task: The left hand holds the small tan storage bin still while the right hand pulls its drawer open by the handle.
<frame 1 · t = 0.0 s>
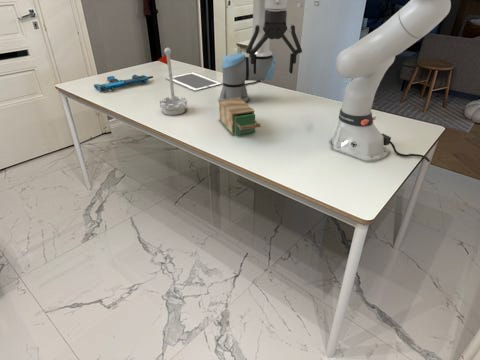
left hand: (272, 72, 127), 28 cm above the table, tool pointing down, fingers open, 13 cm apart
right hand: (308, 6, 134), 48 cm above the table, tool pointing down, fingers open, 8 cm apart
tablet: (193, 81, 211), on the table
tan storage bin: (236, 125, 155), on the table
drawer: (241, 120, 147), point 5 cm above the table, slide at 1.2 cm
submachine gun: (123, 83, 207), on the table
flag stand: (174, 111, 170), on the table
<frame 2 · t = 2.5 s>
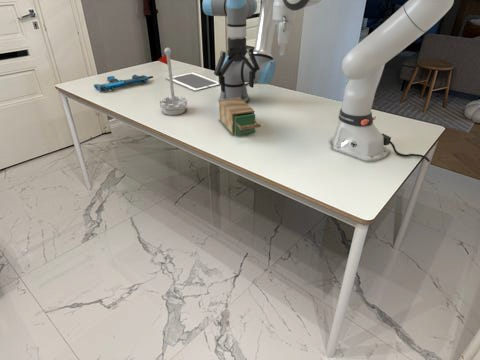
left hand: (237, 89, 147), 16 cm above the table, tool pointing down, fingers open, 13 cm apart
right hand: (281, 52, 136), 32 cm above the table, tool pointing down, fingers open, 8 cm apart
nothing on the table moved.
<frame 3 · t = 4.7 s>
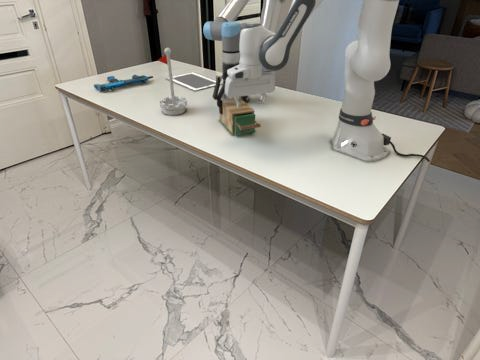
left hand: (232, 111, 156), 5 cm above the table, tool pointing down, fingers closed on tan storage bin, 10 cm apart
right hand: (249, 105, 136), 14 cm above the table, tool pointing down, fingers open, 8 cm apart
tan storage bin: (236, 125, 155), on the table, touching left hand
everything else where it was.
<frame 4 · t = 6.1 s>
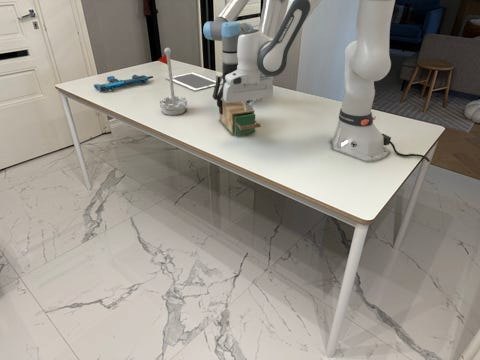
left hand: (232, 111, 156), 5 cm above the table, tool pointing down, fingers closed on tan storage bin, 10 cm apart
right hand: (248, 110, 137), 13 cm above the table, tool pointing down, fingers closed
tan storage bin: (236, 125, 155), on the table, touching left hand
everything else where it was.
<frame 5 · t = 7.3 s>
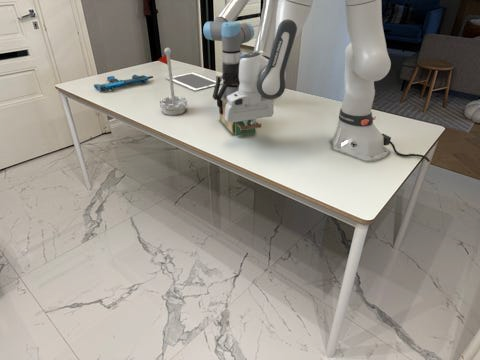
left hand: (232, 111, 156), 5 cm above the table, tool pointing down, fingers closed on tan storage bin, 10 cm apart
right hand: (249, 128, 140), 5 cm above the table, tool pointing down, fingers closed, pressing on drawer
tan storage bin: (236, 125, 154), on the table, touching left hand
drawer: (241, 120, 147), point 5 cm above the table, slide at 1.6 cm, touching right hand
everything else where it was.
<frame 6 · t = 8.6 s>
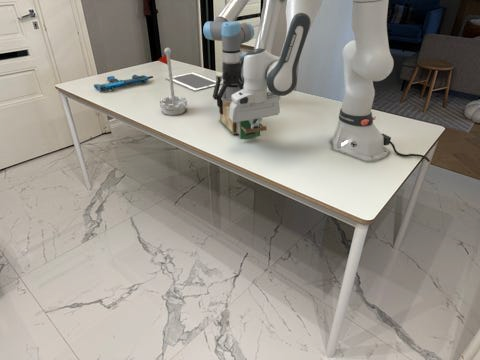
left hand: (232, 111, 156), 5 cm above the table, tool pointing down, fingers closed on tan storage bin, 10 cm apart
right hand: (255, 128, 135), 7 cm above the table, tool pointing down, fingers closed
tan storage bin: (236, 125, 154), on the table, touching left hand
drawer: (245, 124, 143), point 6 cm above the table, slide at 6.4 cm
everything else where it was.
when the left hand's fingers open (5 cm above the table, at t = 10.0 s): tan storage bin stays where it is, on the table.
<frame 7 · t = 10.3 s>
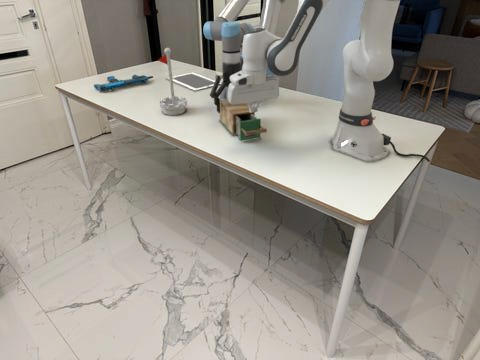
left hand: (232, 110, 155), 6 cm above the table, tool pointing down, fingers open, 13 cm apart
right hand: (253, 111, 132), 14 cm above the table, tool pointing down, fingers closed
tan storage bin: (236, 126, 154), on the table
everything else where it was.
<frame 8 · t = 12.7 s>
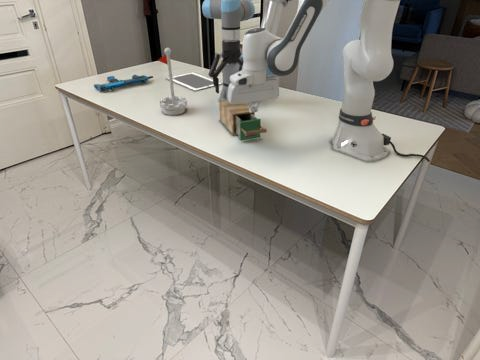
left hand: (231, 90, 151), 15 cm above the table, tool pointing down, fingers open, 13 cm apart
right hand: (253, 111, 132), 14 cm above the table, tool pointing down, fingers closed
nothing on the table moved.
at the end: drawer slide at 6.4 cm; tan storage bin tilted 0°; tan storage bin never tilted more than 2° during the clip; tan storage bin moved 0.4 cm from its start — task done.
